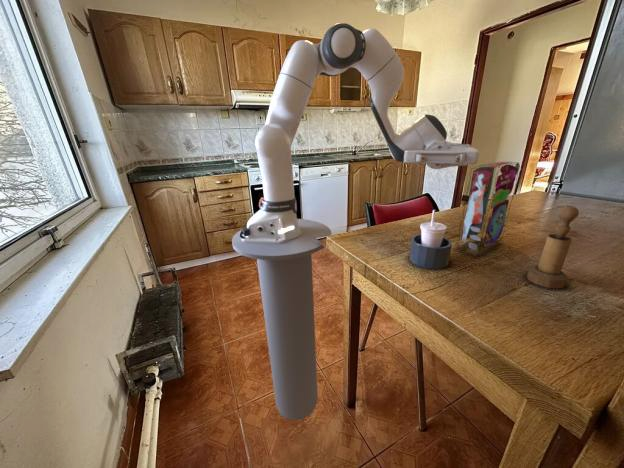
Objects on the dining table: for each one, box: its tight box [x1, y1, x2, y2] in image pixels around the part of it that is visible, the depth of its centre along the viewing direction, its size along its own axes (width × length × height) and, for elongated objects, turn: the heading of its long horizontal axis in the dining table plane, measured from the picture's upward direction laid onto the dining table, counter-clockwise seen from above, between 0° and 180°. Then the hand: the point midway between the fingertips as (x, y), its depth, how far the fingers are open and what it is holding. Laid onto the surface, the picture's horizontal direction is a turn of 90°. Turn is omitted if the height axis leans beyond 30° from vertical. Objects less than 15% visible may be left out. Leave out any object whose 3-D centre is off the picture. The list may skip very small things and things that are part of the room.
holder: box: [409, 233, 453, 270], centre depth 70 cm, size 10×10×6 cm
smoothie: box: [419, 209, 448, 248], centre depth 68 cm, size 6×6×14 cm
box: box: [456, 161, 521, 258], centre depth 76 cm, size 25×6×24 cm, turn 125°
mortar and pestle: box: [526, 205, 580, 290], centre depth 56 cm, size 7×6×18 cm
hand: (440, 159), depth 72 cm, fingers open, 8 cm apart
